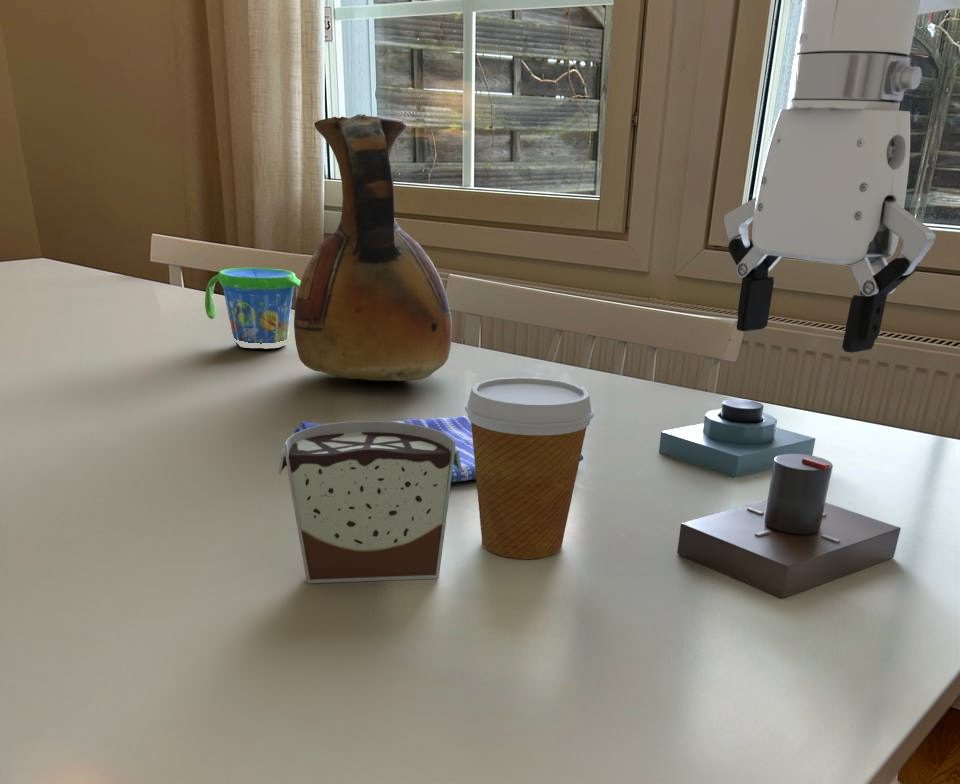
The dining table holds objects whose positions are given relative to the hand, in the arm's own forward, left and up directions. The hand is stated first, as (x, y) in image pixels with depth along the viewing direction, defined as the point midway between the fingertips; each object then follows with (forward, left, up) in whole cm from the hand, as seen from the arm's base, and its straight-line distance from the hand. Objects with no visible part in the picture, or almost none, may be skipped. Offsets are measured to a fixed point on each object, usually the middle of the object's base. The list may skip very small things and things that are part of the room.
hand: (802, 339), depth 76 cm
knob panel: (+5, +6, -15) cm, 17 cm away
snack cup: (+4, -87, -15) cm, 89 cm away
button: (-13, -14, -11) cm, 22 cm away
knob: (+5, +6, -13) cm, 15 cm away
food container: (+33, -10, -15) cm, 38 cm away
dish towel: (+14, -29, -15) cm, 36 cm away
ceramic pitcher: (+1, -61, -15) cm, 63 cm away
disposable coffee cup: (+21, -7, -15) cm, 27 cm away
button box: (-13, -14, -15) cm, 25 cm away
